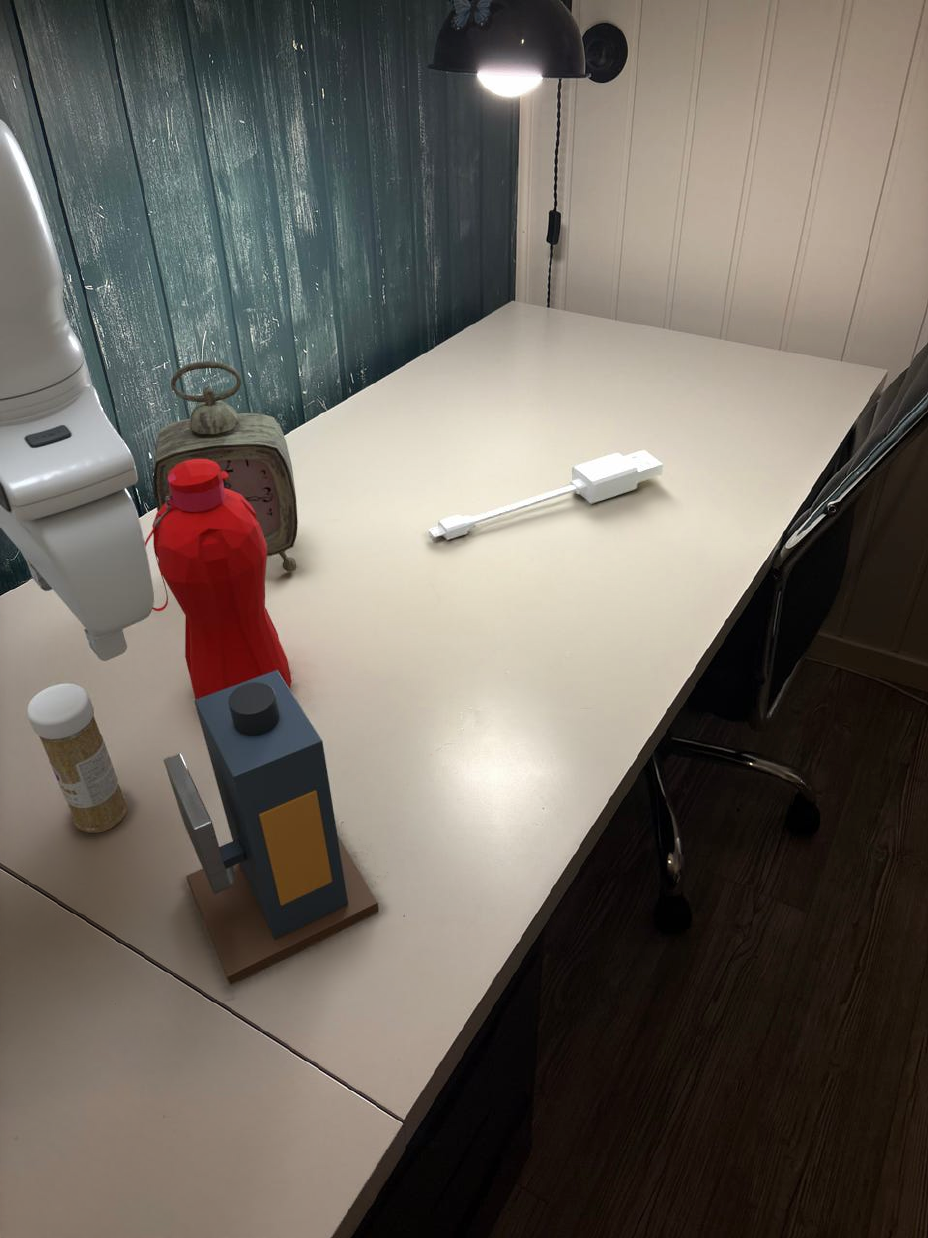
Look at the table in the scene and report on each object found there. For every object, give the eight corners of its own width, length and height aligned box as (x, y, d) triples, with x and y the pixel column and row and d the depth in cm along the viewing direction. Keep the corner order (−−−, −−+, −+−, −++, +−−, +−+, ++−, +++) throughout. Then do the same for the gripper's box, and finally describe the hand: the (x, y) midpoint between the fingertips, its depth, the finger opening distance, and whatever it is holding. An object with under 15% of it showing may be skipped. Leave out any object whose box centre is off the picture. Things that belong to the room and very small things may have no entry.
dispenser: (230, 985, 66) (166, 792, 53) (188, 884, 73) (123, 690, 60) (379, 911, 71) (354, 716, 58) (327, 823, 78) (295, 630, 64)
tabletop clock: (179, 595, 103) (124, 386, 88) (181, 550, 110) (131, 350, 95) (308, 577, 105) (277, 371, 90) (302, 535, 112) (272, 337, 97)
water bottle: (171, 679, 92) (107, 458, 77) (279, 651, 95) (238, 433, 80) (185, 741, 86) (118, 512, 70) (300, 709, 89) (260, 483, 73)
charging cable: (423, 535, 114) (421, 512, 111) (640, 464, 124) (642, 442, 122) (441, 555, 110) (439, 532, 108) (663, 481, 120) (665, 459, 118)
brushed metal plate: (214, 895, 62) (193, 830, 58) (184, 824, 67) (162, 759, 63) (231, 887, 63) (212, 822, 58) (199, 818, 68) (180, 752, 63)
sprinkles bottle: (63, 817, 79) (13, 704, 70) (109, 785, 81) (66, 673, 73) (94, 844, 76) (46, 731, 68) (140, 810, 79) (99, 697, 71)
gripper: (-100, 375, 55) (-24, 564, 64) (22, 510, 43) (95, 721, 52) (6, 349, 58) (65, 532, 67) (148, 467, 46) (197, 673, 55)
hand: (79, 616), depth 59 cm, fingers open, 8 cm apart
